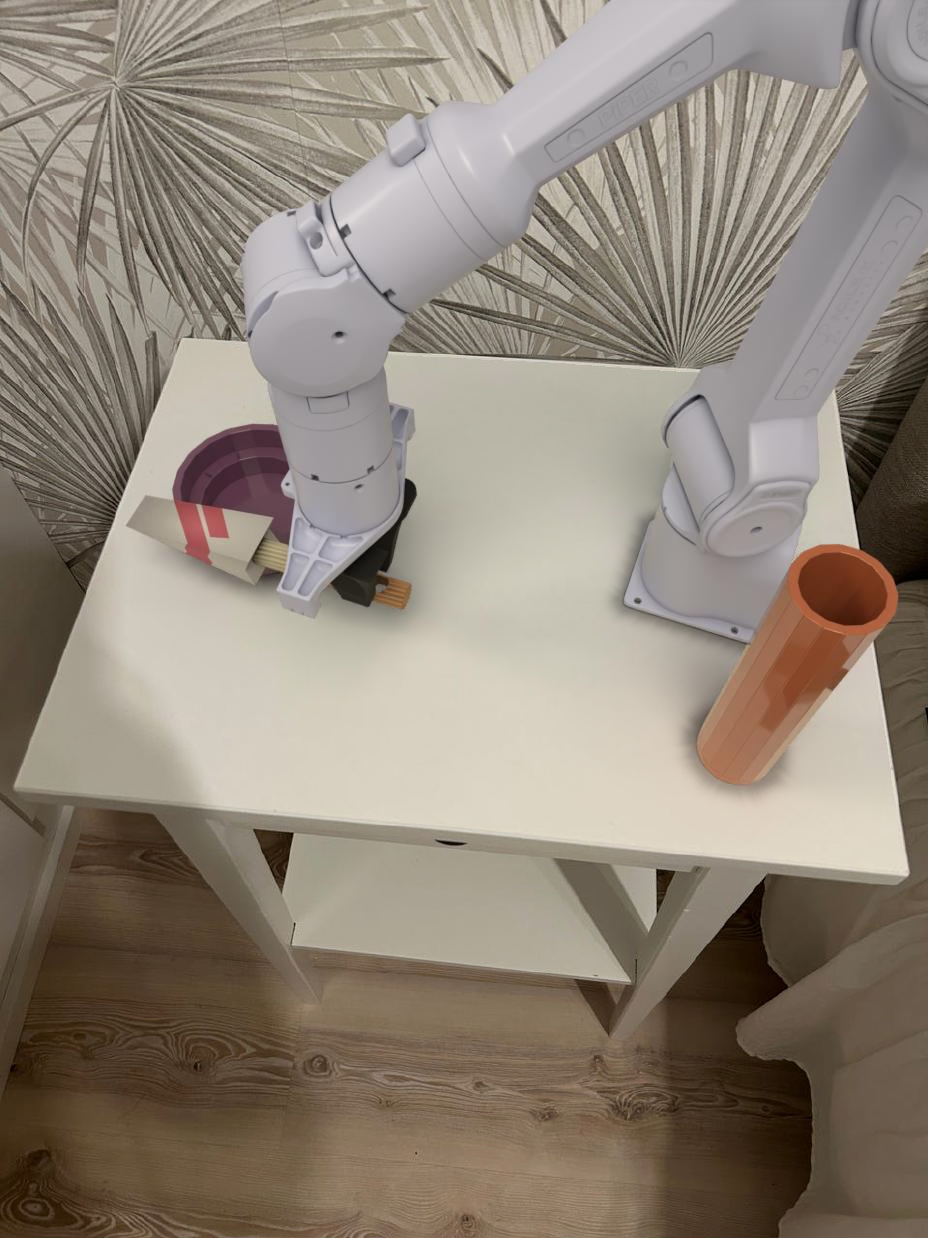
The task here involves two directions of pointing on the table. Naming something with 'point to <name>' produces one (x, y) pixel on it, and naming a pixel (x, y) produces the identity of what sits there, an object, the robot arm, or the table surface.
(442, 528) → the table surface
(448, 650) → the table surface
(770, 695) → the vase
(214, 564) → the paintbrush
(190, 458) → the bowl
